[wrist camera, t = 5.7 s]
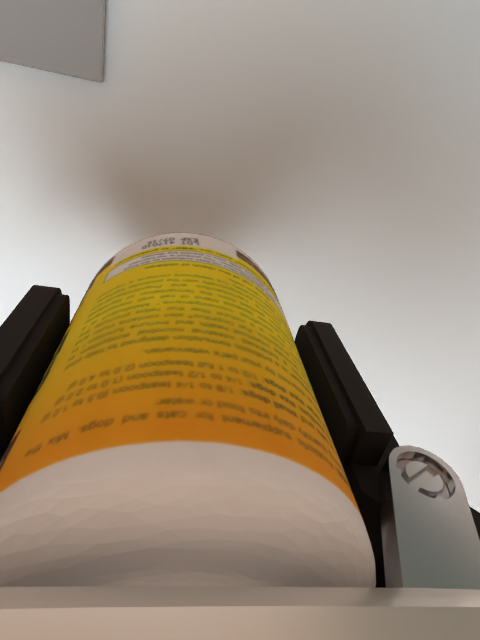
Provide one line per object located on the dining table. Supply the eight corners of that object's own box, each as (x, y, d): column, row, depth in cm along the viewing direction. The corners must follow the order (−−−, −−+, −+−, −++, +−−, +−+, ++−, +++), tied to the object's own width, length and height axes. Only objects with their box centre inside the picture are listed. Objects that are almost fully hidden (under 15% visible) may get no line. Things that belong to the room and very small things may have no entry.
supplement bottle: (68, 227, 10) (-584, 988, 2) (281, 223, 11) (641, 792, 2) (104, 395, 13) (-73, 1009, 4) (272, 385, 14) (411, 920, 5)
